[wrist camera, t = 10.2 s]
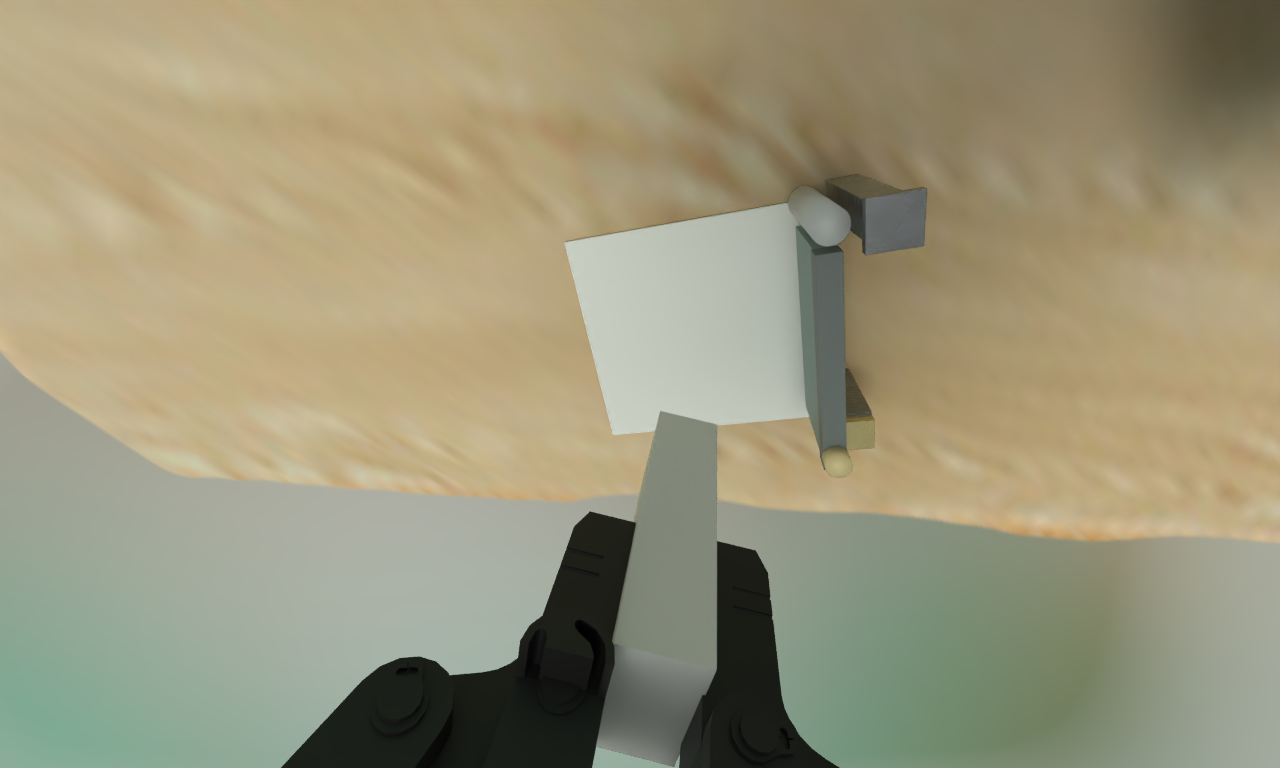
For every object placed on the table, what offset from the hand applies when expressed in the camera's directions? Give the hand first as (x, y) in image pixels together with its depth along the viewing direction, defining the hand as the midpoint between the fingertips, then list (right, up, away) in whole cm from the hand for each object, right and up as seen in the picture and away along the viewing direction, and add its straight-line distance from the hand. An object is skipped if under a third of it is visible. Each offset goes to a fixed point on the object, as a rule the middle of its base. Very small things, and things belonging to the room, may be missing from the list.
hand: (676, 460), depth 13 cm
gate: (+11, +8, +23) cm, 27 cm away
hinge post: (+13, +15, +20) cm, 28 cm away
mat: (+3, +6, +26) cm, 27 cm away
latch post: (+15, +2, +27) cm, 31 cm away
